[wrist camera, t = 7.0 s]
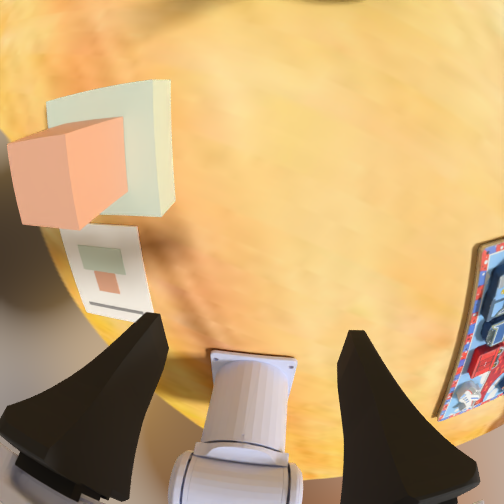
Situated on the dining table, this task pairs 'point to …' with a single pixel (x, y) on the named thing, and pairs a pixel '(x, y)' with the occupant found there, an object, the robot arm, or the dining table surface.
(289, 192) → the dining table surface
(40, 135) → the top brick
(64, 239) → the page
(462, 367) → the puzzle board
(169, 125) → the base brick
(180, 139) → the dining table surface
